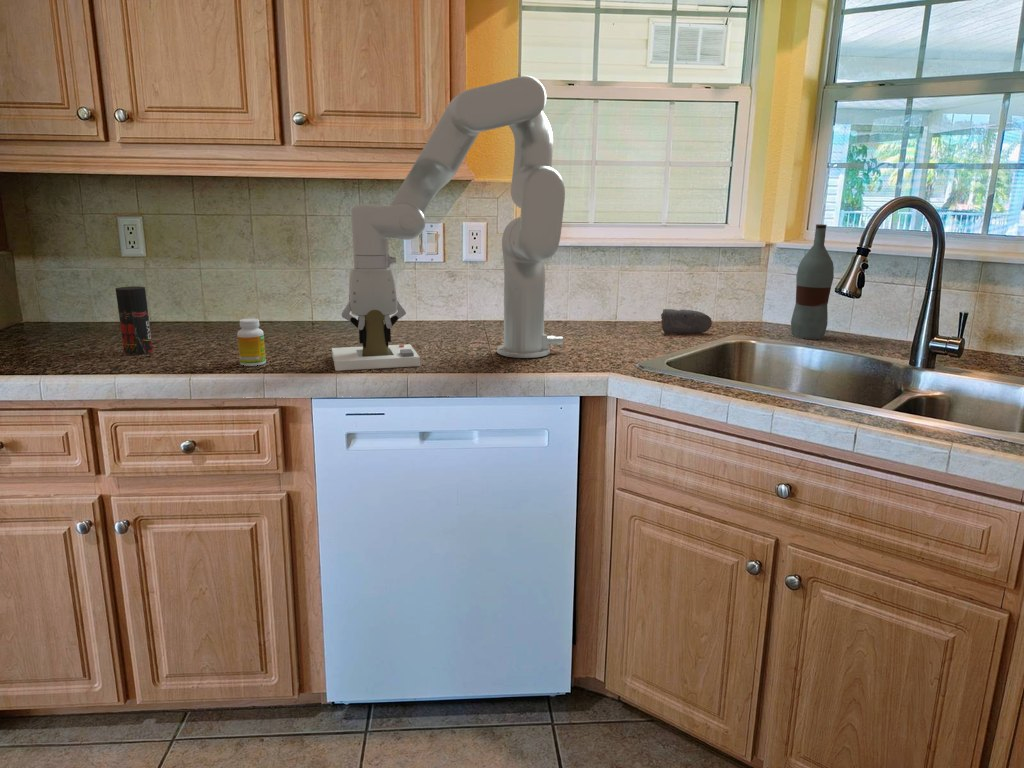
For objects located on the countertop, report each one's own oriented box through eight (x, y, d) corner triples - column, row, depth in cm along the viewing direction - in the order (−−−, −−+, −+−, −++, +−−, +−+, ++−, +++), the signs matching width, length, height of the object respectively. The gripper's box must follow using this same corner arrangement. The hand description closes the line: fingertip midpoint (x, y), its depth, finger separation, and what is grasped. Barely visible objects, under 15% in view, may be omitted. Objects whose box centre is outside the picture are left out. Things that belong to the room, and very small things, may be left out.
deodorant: (125, 350, 162) (116, 286, 158) (153, 349, 165) (145, 286, 161) (123, 356, 157) (113, 290, 153) (152, 354, 159) (144, 289, 155)
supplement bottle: (266, 365, 150) (262, 321, 147) (239, 367, 148) (235, 322, 146) (265, 360, 155) (262, 317, 152) (240, 361, 153) (236, 318, 150)
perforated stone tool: (707, 332, 195) (709, 307, 193) (714, 335, 189) (716, 310, 188) (655, 332, 193) (657, 307, 192) (660, 336, 188) (662, 310, 187)
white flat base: (410, 352, 164) (409, 340, 163) (420, 365, 151) (419, 353, 150) (332, 356, 159) (331, 344, 158) (335, 370, 146) (334, 357, 145)
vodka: (833, 339, 186) (848, 225, 179) (806, 341, 183) (820, 225, 176) (808, 332, 195) (822, 223, 187) (781, 334, 192) (794, 223, 184)
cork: (377, 351, 159) (375, 303, 156) (395, 354, 155) (393, 306, 152) (356, 355, 154) (353, 306, 152) (374, 359, 151) (371, 309, 148)
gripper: (407, 260, 155) (410, 340, 160) (330, 262, 151) (335, 344, 155) (412, 263, 148) (415, 347, 153) (332, 265, 144) (337, 351, 148)
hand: (375, 345), depth 154 cm, fingers closed on cork, 4 cm apart
